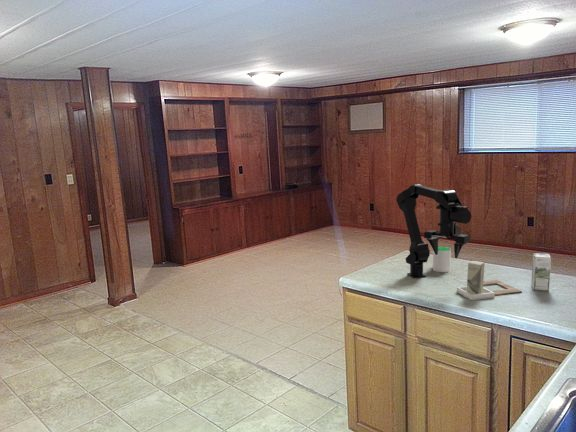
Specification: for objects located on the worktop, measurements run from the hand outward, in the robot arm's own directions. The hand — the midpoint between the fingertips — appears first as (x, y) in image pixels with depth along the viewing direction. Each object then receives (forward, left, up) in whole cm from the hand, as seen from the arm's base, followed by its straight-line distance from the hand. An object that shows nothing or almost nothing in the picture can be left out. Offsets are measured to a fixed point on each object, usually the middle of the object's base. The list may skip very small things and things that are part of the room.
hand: (446, 256), depth 197 cm
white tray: (+14, +5, -13) cm, 20 cm away
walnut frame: (+9, +17, -13) cm, 23 cm away
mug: (-24, +11, -13) cm, 30 cm away
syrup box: (+15, +34, -13) cm, 39 cm away
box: (+14, +5, -13) cm, 19 cm away
